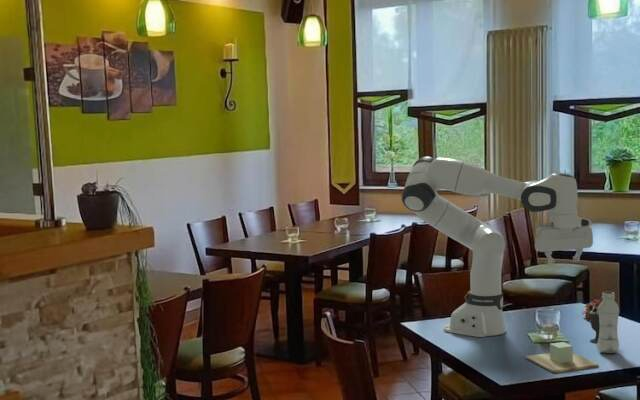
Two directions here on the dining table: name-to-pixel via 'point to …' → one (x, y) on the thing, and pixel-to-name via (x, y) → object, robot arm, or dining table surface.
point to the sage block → (561, 352)
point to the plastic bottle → (608, 324)
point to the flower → (589, 307)
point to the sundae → (594, 321)
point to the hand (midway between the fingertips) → (563, 262)
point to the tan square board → (556, 367)
